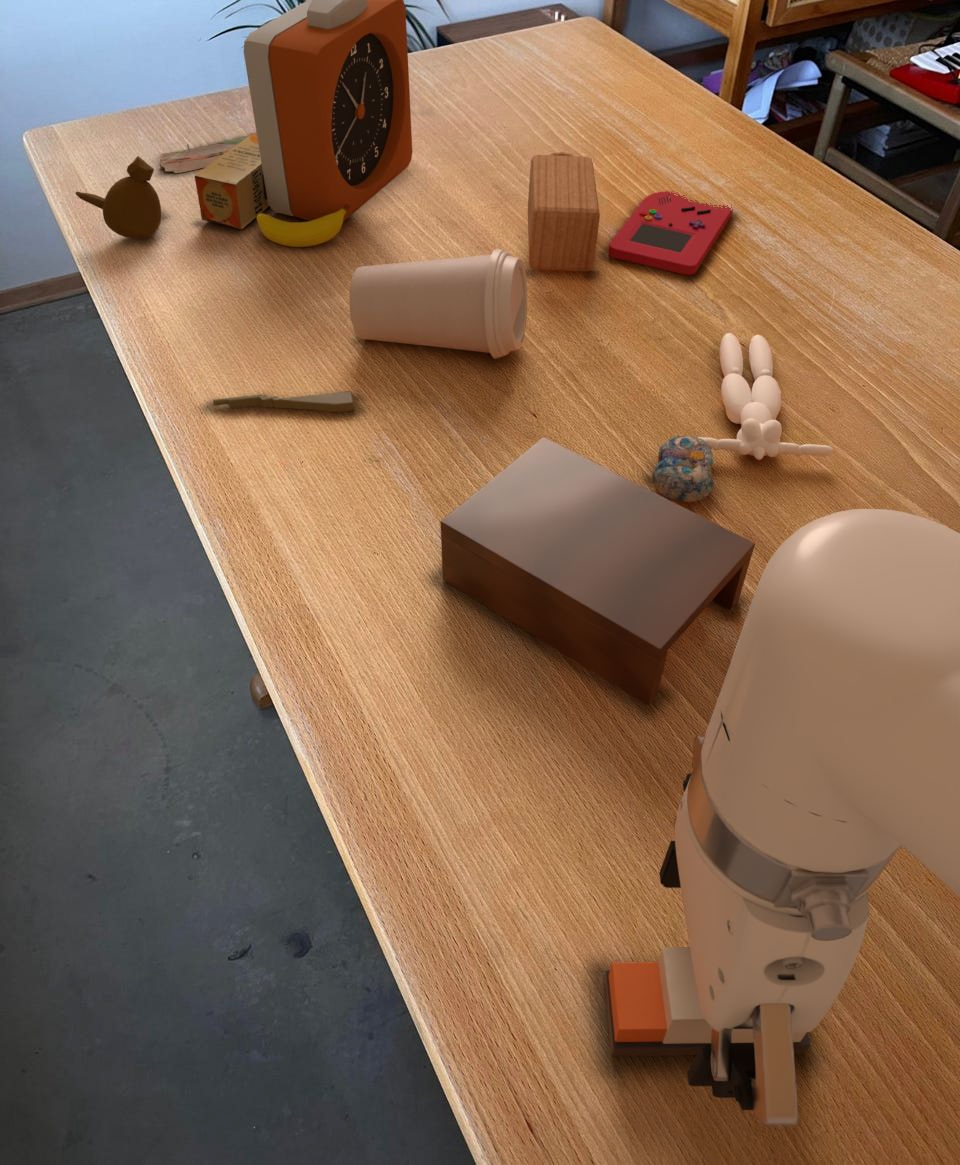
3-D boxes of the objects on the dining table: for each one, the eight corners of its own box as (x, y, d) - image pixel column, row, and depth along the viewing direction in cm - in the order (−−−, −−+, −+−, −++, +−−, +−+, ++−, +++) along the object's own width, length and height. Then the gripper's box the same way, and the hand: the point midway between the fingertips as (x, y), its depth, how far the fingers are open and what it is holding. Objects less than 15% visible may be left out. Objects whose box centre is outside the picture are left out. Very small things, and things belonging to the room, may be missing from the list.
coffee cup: (348, 365, 91) (509, 369, 88) (338, 256, 87) (507, 255, 84) (381, 344, 99) (529, 346, 96) (374, 243, 95) (528, 242, 92)
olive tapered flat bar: (355, 398, 89) (354, 389, 88) (354, 412, 87) (353, 403, 87) (215, 400, 88) (213, 392, 88) (212, 414, 87) (210, 406, 86)
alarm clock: (335, 233, 108) (311, 26, 93) (267, 215, 111) (233, 12, 96) (415, 163, 119) (406, -31, 104) (352, 149, 122) (334, -42, 107)
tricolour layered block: (788, 976, 54) (809, 941, 51) (805, 1054, 51) (828, 1022, 48) (603, 978, 54) (612, 943, 51) (611, 1056, 51) (620, 1025, 48)
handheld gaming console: (735, 201, 111) (695, 264, 101) (733, 213, 112) (693, 277, 102) (653, 184, 113) (606, 244, 104) (651, 196, 114) (605, 256, 105)
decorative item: (533, 209, 98) (530, 126, 111) (528, 271, 102) (526, 184, 116) (600, 212, 98) (589, 128, 111) (593, 274, 102) (583, 186, 116)
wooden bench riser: (738, 601, 72) (755, 543, 68) (648, 706, 66) (660, 649, 62) (539, 495, 80) (543, 436, 76) (442, 579, 74) (439, 521, 69)
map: (327, 140, 125) (327, 133, 124) (169, 176, 118) (167, 168, 117) (310, 122, 128) (310, 115, 127) (154, 156, 120) (152, 149, 119)
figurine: (181, 230, 108) (156, 216, 112) (158, 154, 103) (133, 142, 107) (113, 254, 105) (91, 239, 109) (86, 177, 100) (63, 164, 103)
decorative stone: (716, 504, 77) (660, 473, 76) (688, 525, 81) (635, 496, 80) (736, 440, 80) (683, 409, 79) (709, 464, 84) (658, 435, 83)
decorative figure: (804, 348, 94) (831, 476, 82) (675, 340, 95) (682, 466, 83) (814, 316, 91) (842, 444, 79) (680, 308, 92) (689, 434, 80)
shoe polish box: (257, 176, 117) (202, 219, 109) (251, 133, 114) (194, 175, 106) (294, 184, 116) (241, 229, 108) (290, 141, 113) (235, 184, 105)
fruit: (349, 249, 106) (352, 211, 108) (344, 236, 104) (348, 197, 106) (255, 252, 107) (260, 214, 109) (249, 239, 105) (254, 200, 107)
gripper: (973, 1048, 31) (820, 1171, 44) (835, 620, 43) (745, 816, 55) (734, 1049, 31) (650, 1173, 44) (660, 619, 42) (611, 816, 55)
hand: (703, 973), depth 50 cm, fingers open, 9 cm apart
